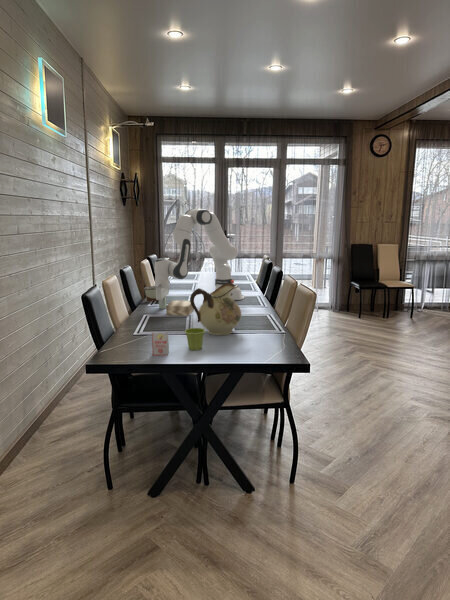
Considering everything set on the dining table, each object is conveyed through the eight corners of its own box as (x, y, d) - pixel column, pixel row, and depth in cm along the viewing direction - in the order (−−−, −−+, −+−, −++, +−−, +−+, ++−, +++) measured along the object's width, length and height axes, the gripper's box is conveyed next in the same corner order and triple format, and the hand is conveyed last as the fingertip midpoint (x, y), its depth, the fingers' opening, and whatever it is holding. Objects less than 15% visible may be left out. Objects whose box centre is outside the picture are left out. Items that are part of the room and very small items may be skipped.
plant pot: (181, 350, 193) (180, 332, 191) (191, 344, 202) (190, 326, 200) (199, 353, 189) (199, 334, 188) (208, 346, 198) (208, 329, 196)
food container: (163, 299, 301) (163, 286, 299) (161, 301, 295) (161, 287, 293) (147, 299, 302) (146, 285, 300) (144, 301, 297) (143, 287, 294)
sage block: (166, 307, 278) (166, 296, 276) (165, 308, 274) (164, 298, 273) (160, 307, 278) (160, 296, 277) (159, 308, 275) (158, 298, 273)
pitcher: (248, 329, 226) (248, 283, 221) (228, 341, 206) (227, 291, 200) (212, 324, 236) (211, 280, 231) (189, 335, 216) (187, 288, 211)
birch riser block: (193, 310, 272) (193, 300, 271) (188, 316, 256) (188, 306, 255) (172, 309, 274) (172, 300, 272) (166, 315, 258) (166, 306, 257)
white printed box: (154, 352, 190) (153, 331, 188) (168, 352, 190) (168, 331, 188) (152, 355, 187) (151, 333, 184) (167, 355, 187) (167, 333, 184)
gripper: (162, 286, 262) (163, 307, 265) (170, 280, 282) (171, 300, 285) (152, 286, 263) (153, 307, 266) (161, 280, 283) (162, 300, 286)
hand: (162, 303), depth 276 cm, fingers closed on sage block, 4 cm apart
